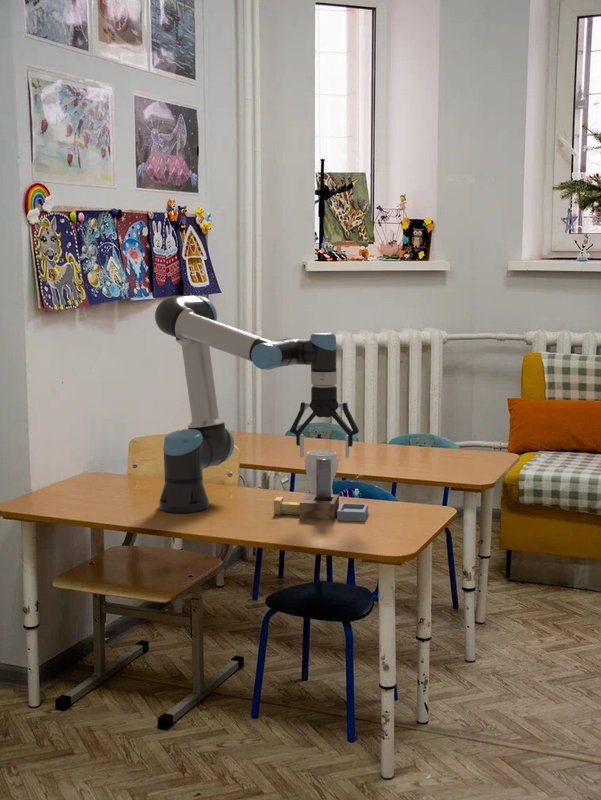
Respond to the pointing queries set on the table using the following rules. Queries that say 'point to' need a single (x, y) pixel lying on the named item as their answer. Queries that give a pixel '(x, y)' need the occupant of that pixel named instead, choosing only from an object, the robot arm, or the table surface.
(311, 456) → the cup
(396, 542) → the table surface
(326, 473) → the grey metal bar
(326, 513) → the socket block
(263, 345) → the robot arm
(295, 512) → the bar
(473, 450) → the table surface
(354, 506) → the grey open tray
